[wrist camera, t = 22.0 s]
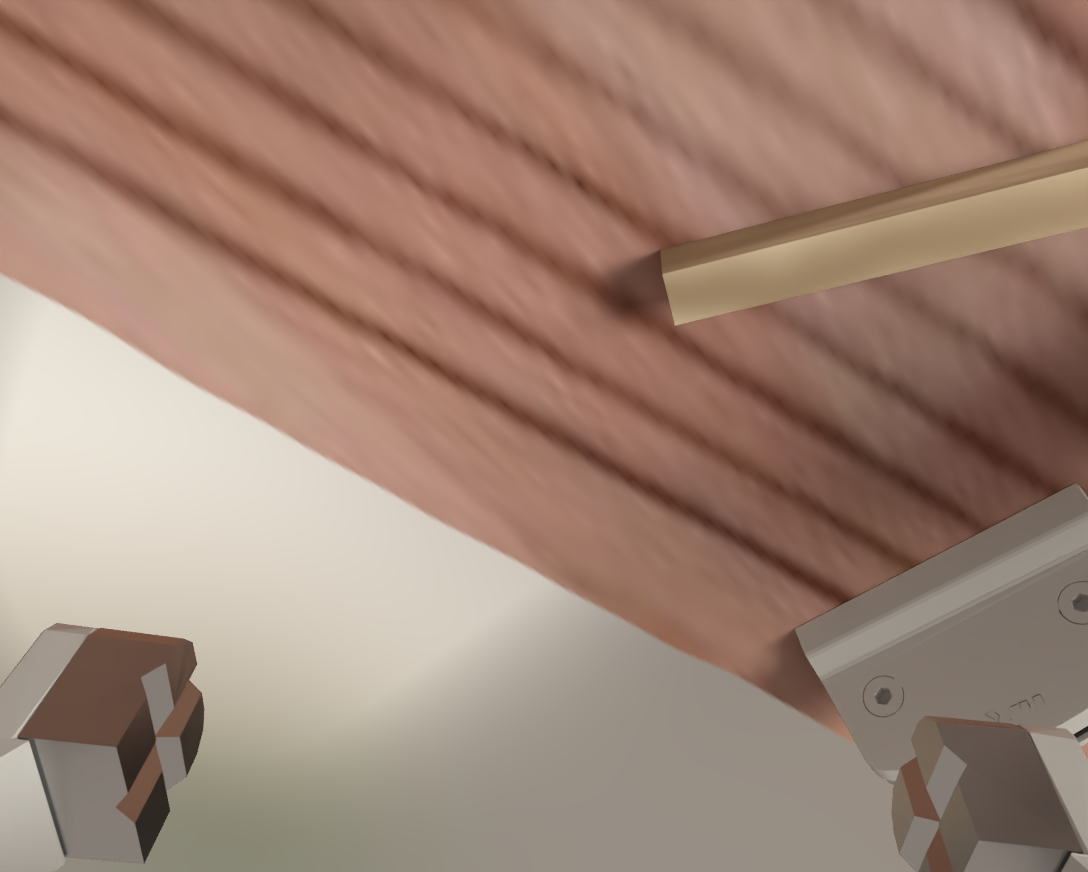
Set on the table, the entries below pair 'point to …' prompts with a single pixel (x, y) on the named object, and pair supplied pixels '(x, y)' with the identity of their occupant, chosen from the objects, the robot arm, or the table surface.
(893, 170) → the table surface
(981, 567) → the grey arched block
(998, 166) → the batten
